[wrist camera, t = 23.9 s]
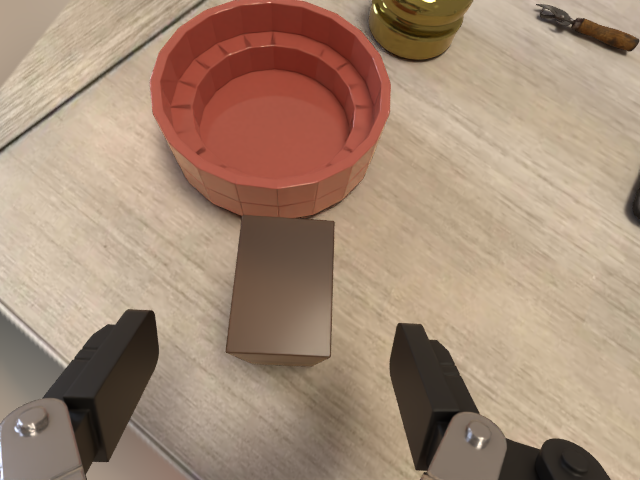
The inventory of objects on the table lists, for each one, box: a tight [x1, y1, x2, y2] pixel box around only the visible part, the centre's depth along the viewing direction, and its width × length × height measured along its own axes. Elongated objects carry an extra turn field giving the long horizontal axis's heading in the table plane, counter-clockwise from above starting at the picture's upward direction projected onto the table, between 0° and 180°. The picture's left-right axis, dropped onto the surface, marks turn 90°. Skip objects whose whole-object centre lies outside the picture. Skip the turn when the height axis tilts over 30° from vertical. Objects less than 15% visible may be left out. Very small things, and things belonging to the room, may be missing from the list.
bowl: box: [150, 0, 391, 218], centre depth 25 cm, size 14×14×5 cm
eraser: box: [226, 215, 335, 367], centre depth 18 cm, size 5×4×10 cm
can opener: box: [536, 4, 639, 51], centre depth 33 cm, size 9×2×1 cm, turn 59°
